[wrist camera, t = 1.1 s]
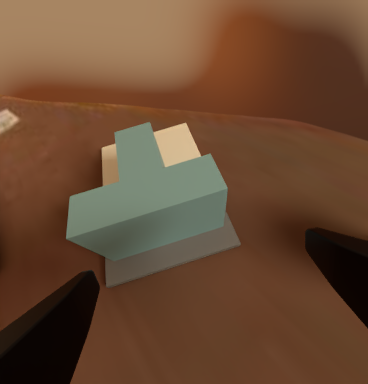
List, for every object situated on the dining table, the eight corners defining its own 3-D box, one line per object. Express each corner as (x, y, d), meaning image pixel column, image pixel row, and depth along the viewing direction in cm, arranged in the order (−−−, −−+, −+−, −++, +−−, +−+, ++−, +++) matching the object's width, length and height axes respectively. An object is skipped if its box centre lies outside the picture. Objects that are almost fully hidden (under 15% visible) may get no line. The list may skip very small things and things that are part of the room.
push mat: (239, 245, 21) (240, 243, 20) (109, 287, 20) (106, 286, 19) (186, 126, 32) (185, 122, 32) (104, 151, 32) (101, 147, 31)
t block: (223, 226, 21) (227, 188, 14) (113, 261, 21) (66, 239, 14) (195, 159, 27) (188, 110, 20) (109, 185, 27) (74, 144, 20)
